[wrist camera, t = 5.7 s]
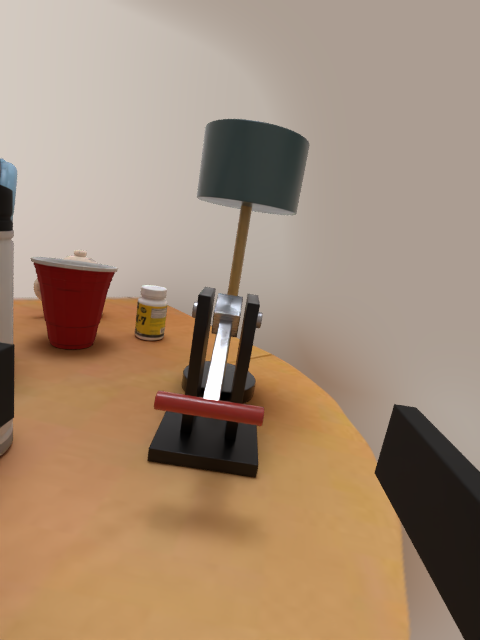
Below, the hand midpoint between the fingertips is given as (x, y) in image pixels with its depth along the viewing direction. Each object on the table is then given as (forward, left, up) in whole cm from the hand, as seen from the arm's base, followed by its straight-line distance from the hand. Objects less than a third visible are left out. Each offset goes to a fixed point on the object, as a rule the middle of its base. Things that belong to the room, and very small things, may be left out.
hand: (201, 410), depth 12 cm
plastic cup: (-22, +37, -13) cm, 45 cm away
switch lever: (0, +15, -4) cm, 16 cm away
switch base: (0, +19, -13) cm, 23 cm away
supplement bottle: (-13, +45, -13) cm, 48 cm away
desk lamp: (0, +29, -13) cm, 32 cm away
